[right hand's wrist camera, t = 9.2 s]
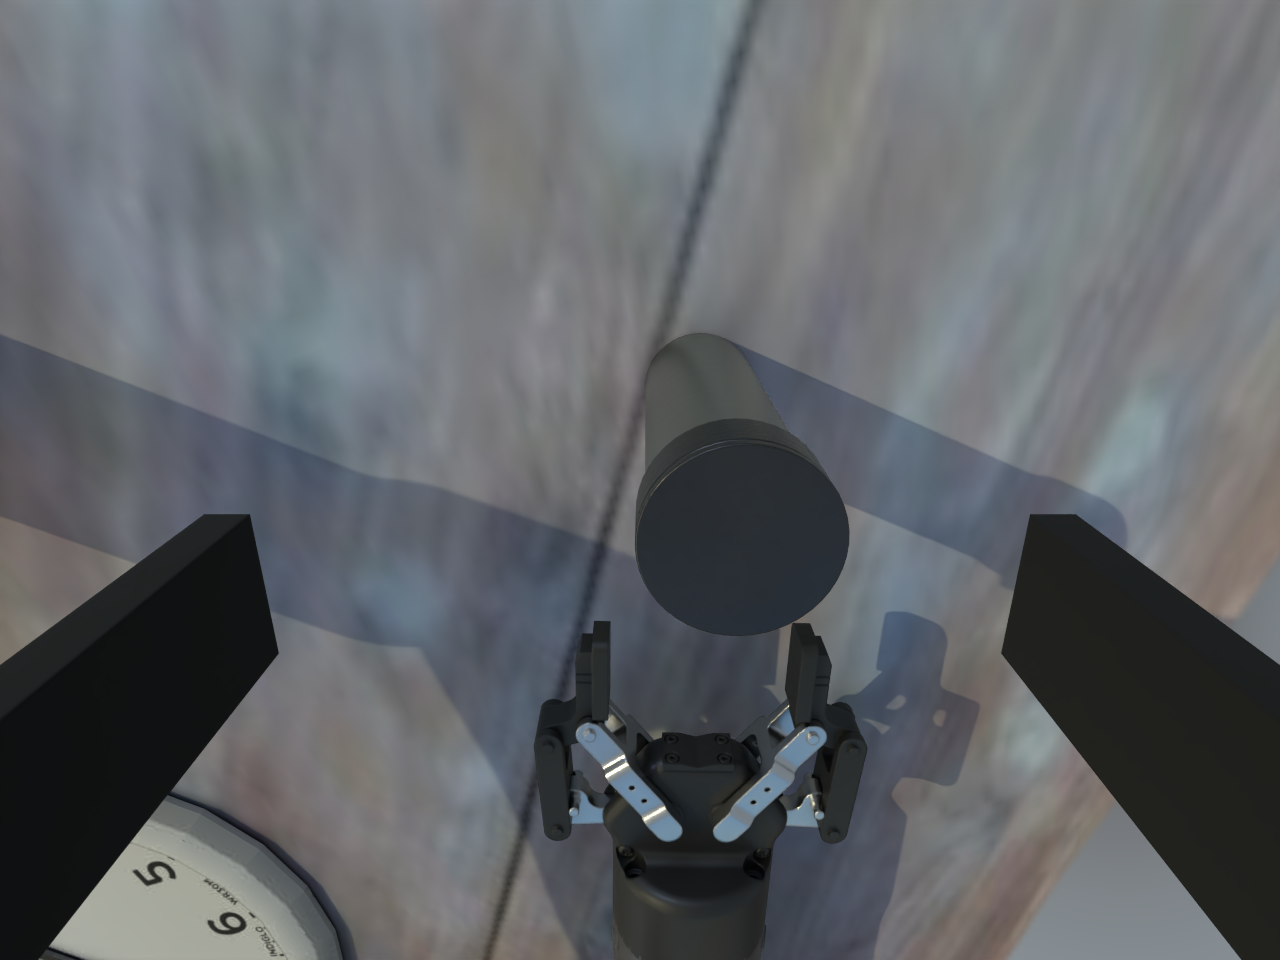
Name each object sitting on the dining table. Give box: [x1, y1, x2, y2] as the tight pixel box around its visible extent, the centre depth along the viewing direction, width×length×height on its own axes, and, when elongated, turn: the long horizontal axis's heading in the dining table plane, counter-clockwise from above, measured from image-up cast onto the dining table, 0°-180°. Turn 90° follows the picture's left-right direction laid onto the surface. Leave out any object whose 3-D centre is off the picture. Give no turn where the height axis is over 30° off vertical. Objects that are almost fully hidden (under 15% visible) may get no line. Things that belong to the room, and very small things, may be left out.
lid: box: [635, 418, 849, 636], centre depth 20 cm, size 5×5×2 cm
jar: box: [645, 333, 790, 473], centre depth 26 cm, size 5×5×15 cm
